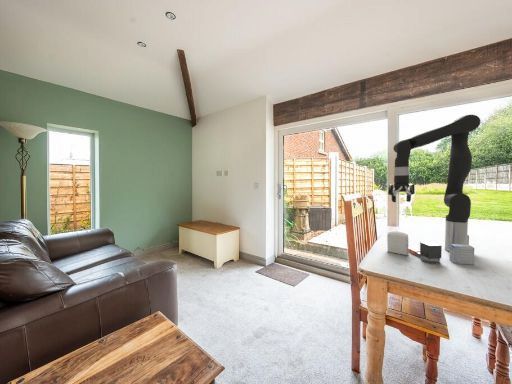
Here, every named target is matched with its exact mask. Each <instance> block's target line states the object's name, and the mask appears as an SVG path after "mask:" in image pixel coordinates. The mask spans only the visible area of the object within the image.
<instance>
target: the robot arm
mask: <svg viewBox="0 0 512 384" xmlns="http://www.w3.org/2000/svg"><path fill="white" fill-rule="evenodd" d="M480 125H481V118H480V117H479V116H478V115H476V114H466V115H463V116H460V117H458V118H456V119H455V120H454V121H453V122H451V123H448V124H446V125H443V126H441V127H437V128H434V129H432V130H428V131H425V132H422V133H419V134H417V135H415V136H413V137H412V136H411V137H410V138H407V139H403V140H400V141H397V142H396V143H395V144H394V145H393V152H394V153H396V157H395V159H394V170H393V183H394V184H389V185H388V191H387V194H388V195H390V196H391V201H392V202H393V203H396V202H397V196H396V195H397V194H399V193H402V192H403V193H405V194H406V202H408V203H410V202H411V201H412V195H415V193H416V190H415V184H414V183H410V156H411V151H412V150H414V149H416V148H421V147H425V146H426V145H429V144H433V143H435V142H437V141H440V140H442V139H445V138H448V137H450V136H451V138H450V139H451V140H450V141H451V143H450V153H449V160H448V168H447V169H448V171H447V183H446V188H445V193H444V196H443V203H444V205H445V206H447V207H448V214H447V215H445V225H444V228H445V230H444V231H445V232H444V250H445V251H447V252H450V244H460V245H470V235H469V234H468V231H469V230H468V226H469V223H468V222H469V218H470V217H471V207H472V200H471V197H469V195H468V194H466V193H463V192H464V191H463V189H464V183H465V181H466V179H467V177H468V176H469V174H470V172H471V169H472V161H473V156H472V152H471V149H470V146H469V143H468V142H469V141H468V139H469V134H470V133H471V132H473V131H476V129H478V128H479V126H480Z"/></svg>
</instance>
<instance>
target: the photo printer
mask: <svg viewBox="0 0 512 384" xmlns="http://www.w3.org/2000/svg"><path fill="white" fill-rule="evenodd" d="M408 248H409V235H408V234H407V233H405V232H403V231H398V230H390V231H388V232H387V252H388V253H393V254H399V255H403V256H408V255H409V252H408Z"/></svg>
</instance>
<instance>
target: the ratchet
mask: <svg viewBox="0 0 512 384" xmlns="http://www.w3.org/2000/svg"><path fill="white" fill-rule="evenodd" d="M408 254H412V255H413V256H416V257H417V258H420V261H422V262H423V263H426V264H431V265H439V264H440V263H441V258H436V259H429V258H427V257H424V256H422V255H420V249H418V248H415V247H408Z"/></svg>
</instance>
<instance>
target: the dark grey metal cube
mask: <svg viewBox="0 0 512 384" xmlns="http://www.w3.org/2000/svg"><path fill="white" fill-rule="evenodd" d="M419 244H420V245H419V250H420V255H422V256H424V257H427V258H429V259H436V258H440V259H442V250H443V249H442V247H443V246H442V244H439V243H436V242H433V241H424V242H421V241H420V243H419Z"/></svg>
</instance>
